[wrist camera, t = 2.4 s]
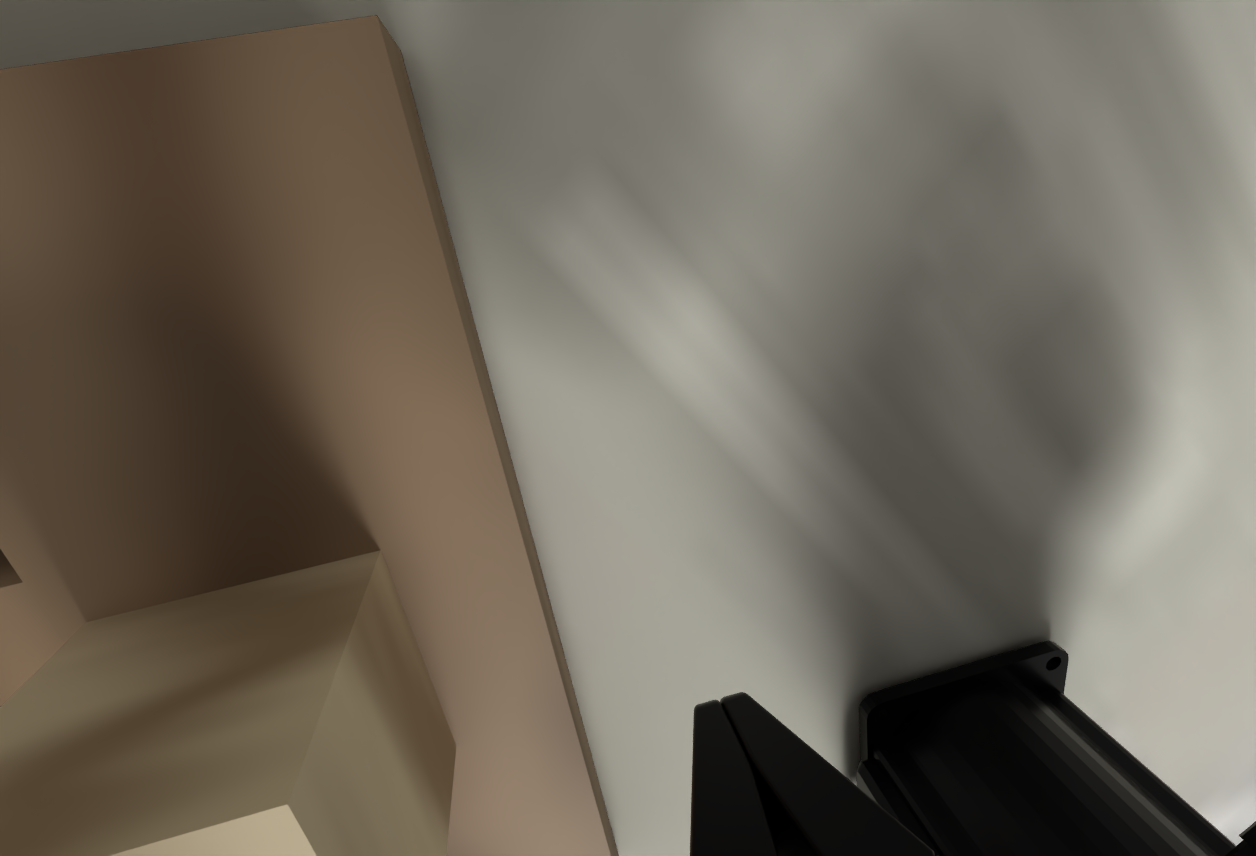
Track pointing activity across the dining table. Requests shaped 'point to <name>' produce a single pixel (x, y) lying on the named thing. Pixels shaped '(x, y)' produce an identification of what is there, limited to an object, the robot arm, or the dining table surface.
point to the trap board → (269, 386)
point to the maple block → (234, 728)
